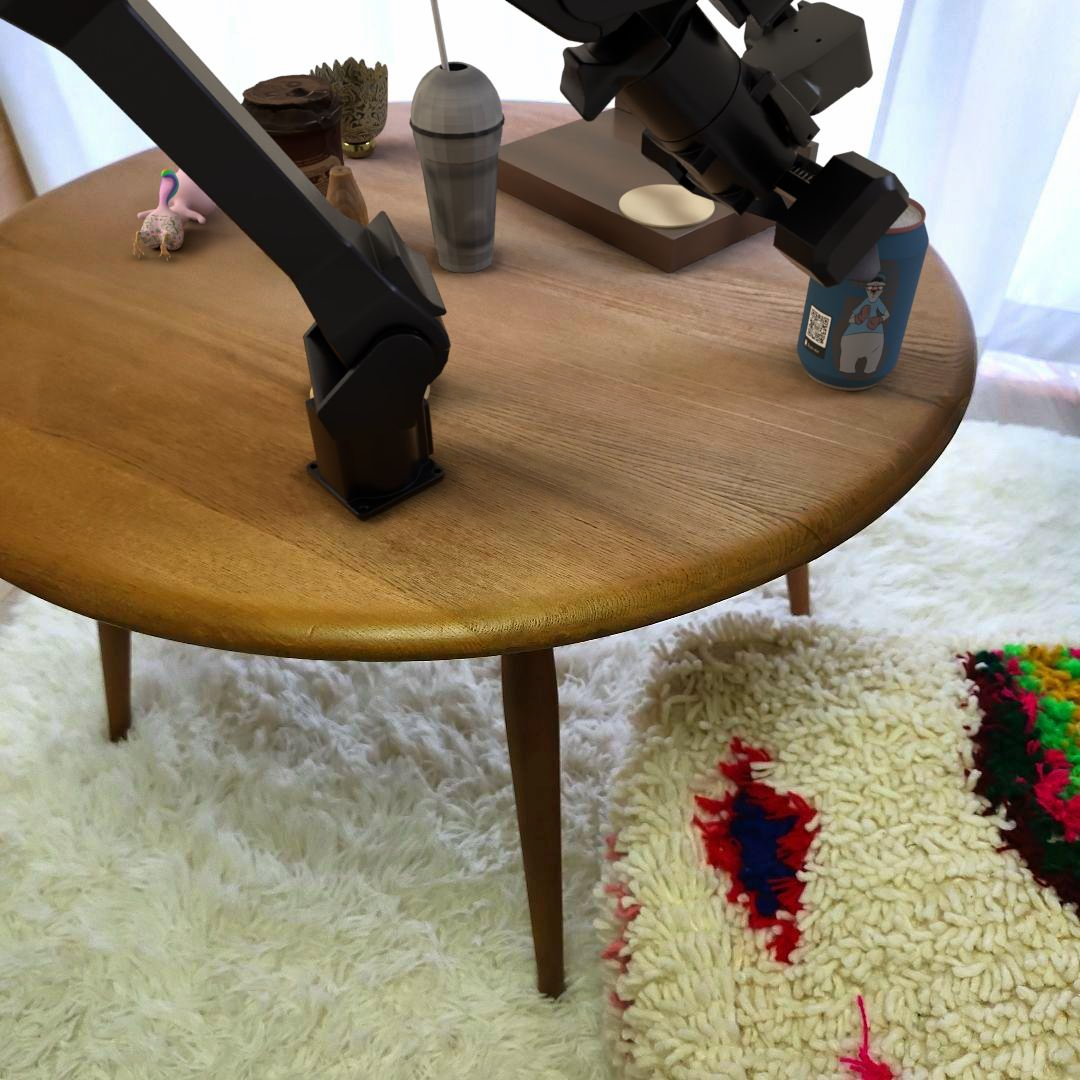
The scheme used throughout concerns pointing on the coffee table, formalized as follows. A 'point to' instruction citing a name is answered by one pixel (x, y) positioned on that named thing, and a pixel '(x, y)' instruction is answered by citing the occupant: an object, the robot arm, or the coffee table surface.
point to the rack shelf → (621, 191)
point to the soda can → (865, 312)
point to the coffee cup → (301, 122)
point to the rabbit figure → (172, 212)
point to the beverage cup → (459, 157)
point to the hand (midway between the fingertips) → (825, 243)
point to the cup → (359, 102)
